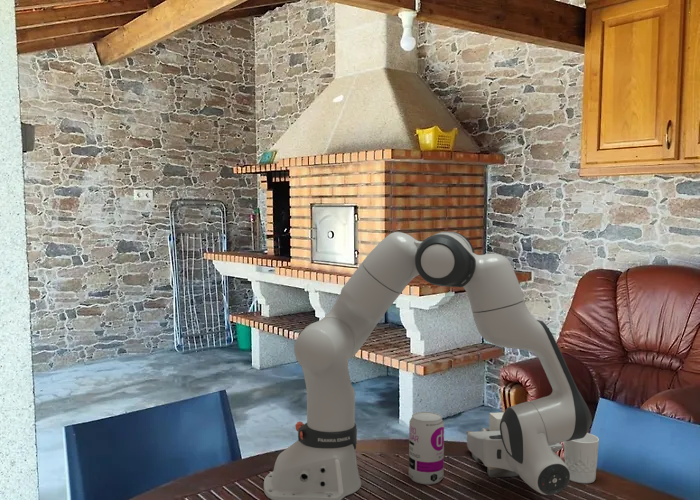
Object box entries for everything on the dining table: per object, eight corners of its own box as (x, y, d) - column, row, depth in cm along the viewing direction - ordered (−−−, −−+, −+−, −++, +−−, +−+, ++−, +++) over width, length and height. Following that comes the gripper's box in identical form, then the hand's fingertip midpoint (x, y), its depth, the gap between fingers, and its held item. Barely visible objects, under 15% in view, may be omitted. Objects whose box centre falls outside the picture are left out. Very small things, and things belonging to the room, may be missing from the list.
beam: (489, 477, 149) (489, 454, 149) (466, 451, 166) (466, 430, 166) (519, 476, 150) (520, 453, 150) (494, 450, 167) (494, 429, 167)
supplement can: (450, 478, 149) (451, 416, 148) (429, 488, 143) (430, 424, 142) (422, 468, 155) (423, 409, 154) (401, 478, 149) (402, 416, 148)
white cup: (600, 486, 145) (601, 443, 145) (565, 483, 147) (566, 441, 146) (594, 472, 153) (595, 432, 152) (560, 470, 154) (561, 430, 154)
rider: (496, 460, 150) (496, 419, 149) (488, 452, 155) (489, 412, 154) (512, 459, 150) (512, 418, 150) (504, 451, 155) (504, 412, 155)
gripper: (566, 435, 141) (539, 416, 155) (479, 439, 138) (459, 419, 152) (565, 463, 141) (539, 441, 155) (478, 467, 138) (459, 444, 152)
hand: (499, 430), depth 153 cm, fingers open, 6 cm apart
